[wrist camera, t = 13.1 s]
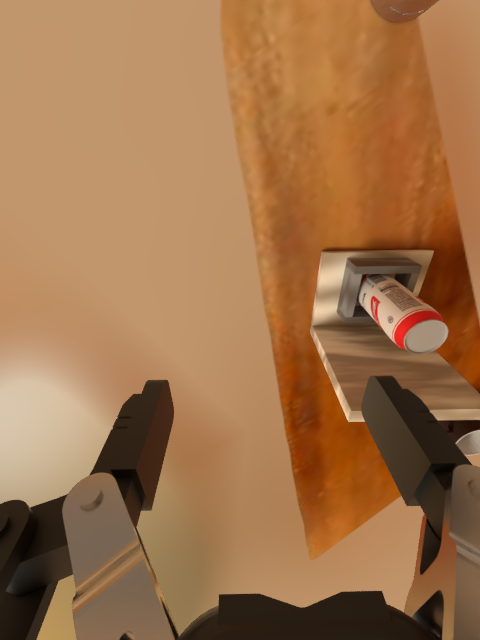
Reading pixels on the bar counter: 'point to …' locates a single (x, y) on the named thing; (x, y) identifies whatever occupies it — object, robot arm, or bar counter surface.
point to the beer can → (402, 314)
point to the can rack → (379, 337)
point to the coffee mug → (464, 434)
